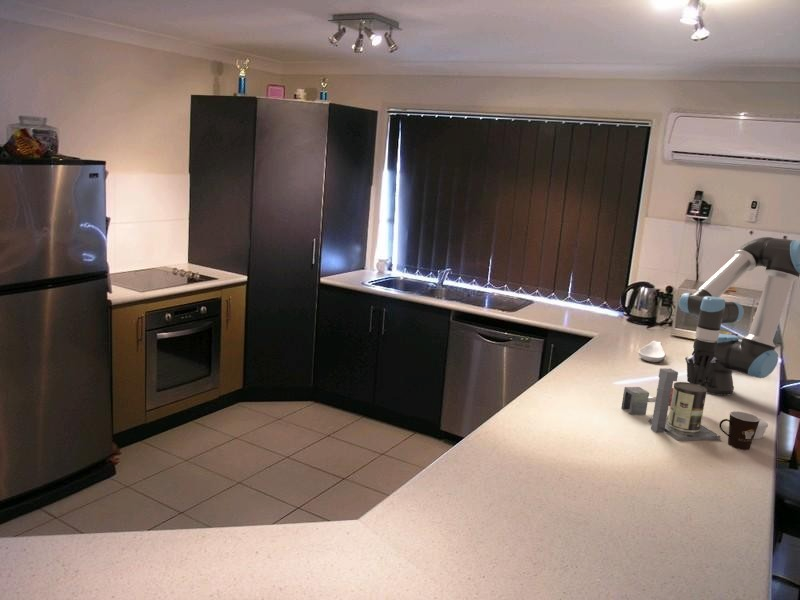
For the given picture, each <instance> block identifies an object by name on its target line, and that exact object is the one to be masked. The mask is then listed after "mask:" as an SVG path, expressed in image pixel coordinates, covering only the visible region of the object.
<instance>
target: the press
mask: <svg viewBox="0 0 800 600" xmlns="http://www.w3.org/2000/svg"><path fill="white" fill-rule="evenodd" d="M678 376H679V372H678V371H676V370H674V369H672V368H668V367H667V368H666V367H665V368H662V367H660V368H659V371H658V385H657V390H656V396H655V397H656V401H655V402H654V408H653V413H652V417H649V418H648V421H647V422H648V423H650V425H651V426H650V430H651V431H652V432H654V433H656V434H659V433H665V434H667V435H668V436H670V437H672V438H673V439H675V440H676V441H679V442H680V441H684V442H685V441H714V440H716V441H717V440H718V441H719V440H721V435H720V434H718V433H716V432H714V431H713V430H711V429H709V428H707V427H706V426H704V425H702V424H701V426H700V431H699V432H684V431H680V430H677V429H674V428H672V427H670V426H669V425H668V419H669V417H668V411H669V407H670V406H669V401H670V396H671V391H672V388H673V386H674V382H678V381H677V380H678ZM622 396H623V397H622V401H621V402H622V403H621V407H620V409H621V410H622V411H626V410H627V411H628V415H631V416H643V415H644V416H645V415H646V414H647V409H648V404H649V402H648V398H649V397H650V392H649V391H647V390H646V389H643V388H642V387H640V386H625V387H624V389H623V394H622ZM646 416H647V415H646Z"/></svg>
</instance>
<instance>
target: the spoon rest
mask: <svg viewBox="0 0 800 600" xmlns="http://www.w3.org/2000/svg"><path fill="white" fill-rule="evenodd" d="M637 353H638V355H639V357H640V358H641V359H642V360H644V361H647V362H649V363H658V362H661V361H662V360H663V359H664V358H665V357H666V353H665V351H664V348H663V346H662V342H661V341H656V340H652V341H651V342H649V343H648V344H646V345H644V346H643V347H641V348H639V350H637Z"/></svg>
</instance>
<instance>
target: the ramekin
mask: <svg viewBox="0 0 800 600" xmlns="http://www.w3.org/2000/svg"><path fill="white" fill-rule="evenodd" d="M758 418H759V419H760V421H759V424H758V427H757V430H756V433H755V435H754V438H753V440H760V439H762V438H763V437H764V435H765V432H766V431H767V428H768V426H769V423H768V422H767V421H766V420H764V419H762V418H760V417H758ZM759 438H760V439H759Z"/></svg>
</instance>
